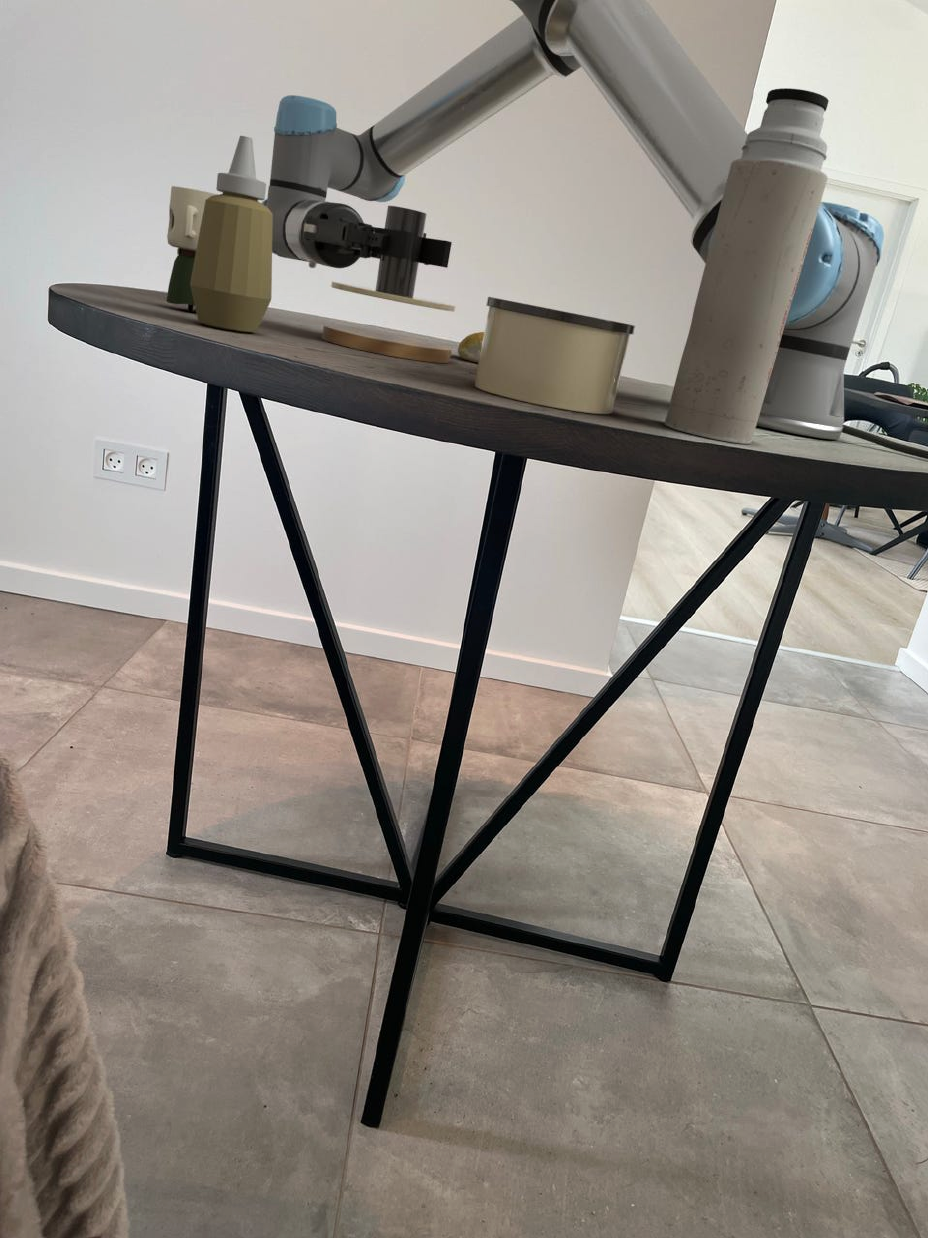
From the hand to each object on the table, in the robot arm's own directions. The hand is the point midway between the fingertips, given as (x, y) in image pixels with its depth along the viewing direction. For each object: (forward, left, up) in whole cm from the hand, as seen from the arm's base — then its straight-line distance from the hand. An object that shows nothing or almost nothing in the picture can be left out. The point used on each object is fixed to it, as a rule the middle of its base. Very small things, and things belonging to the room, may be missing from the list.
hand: (427, 249), depth 101 cm
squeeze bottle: (+19, +8, -12) cm, 23 cm away
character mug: (+26, -7, -12) cm, 29 cm away
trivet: (+3, -4, -11) cm, 13 cm away
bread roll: (-10, -14, -12) cm, 21 cm away
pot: (-13, +20, -11) cm, 26 cm away
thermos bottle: (-28, +24, -12) cm, 38 cm away
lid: (+3, -4, -6) cm, 8 cm away
